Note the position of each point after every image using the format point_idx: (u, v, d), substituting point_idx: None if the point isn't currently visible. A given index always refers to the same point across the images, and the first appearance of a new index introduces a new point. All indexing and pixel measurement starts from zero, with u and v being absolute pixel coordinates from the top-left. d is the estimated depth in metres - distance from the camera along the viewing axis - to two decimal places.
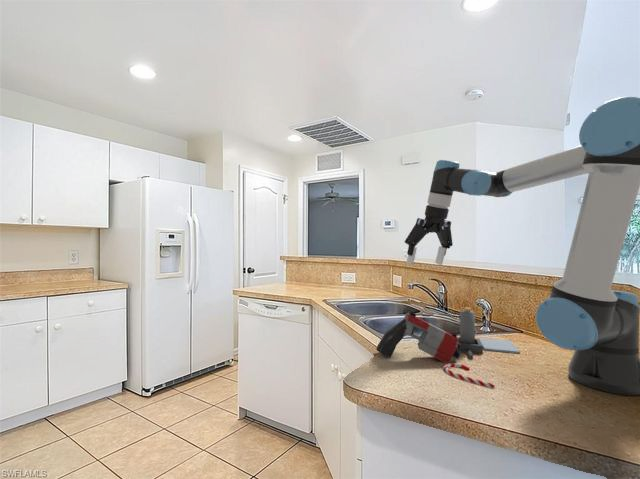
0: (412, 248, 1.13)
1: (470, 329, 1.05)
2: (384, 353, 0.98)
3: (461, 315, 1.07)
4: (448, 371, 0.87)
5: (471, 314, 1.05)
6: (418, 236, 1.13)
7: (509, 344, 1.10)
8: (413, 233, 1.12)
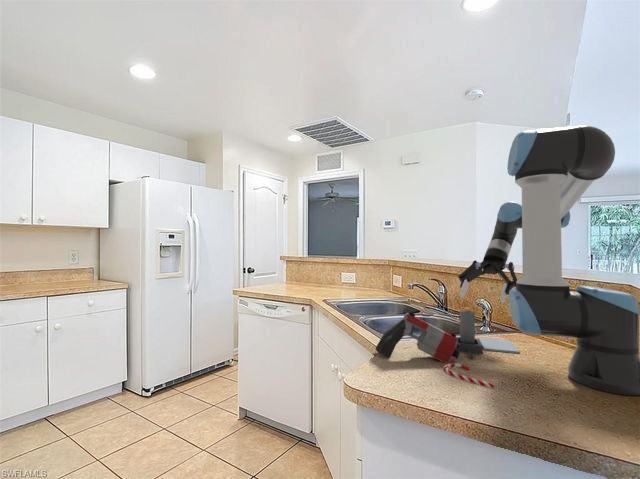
0: (463, 281, 1.23)
1: (470, 329, 1.05)
2: (383, 353, 0.98)
3: (461, 315, 1.07)
4: (448, 371, 0.87)
5: (471, 314, 1.05)
6: None
7: (509, 344, 1.10)
8: None
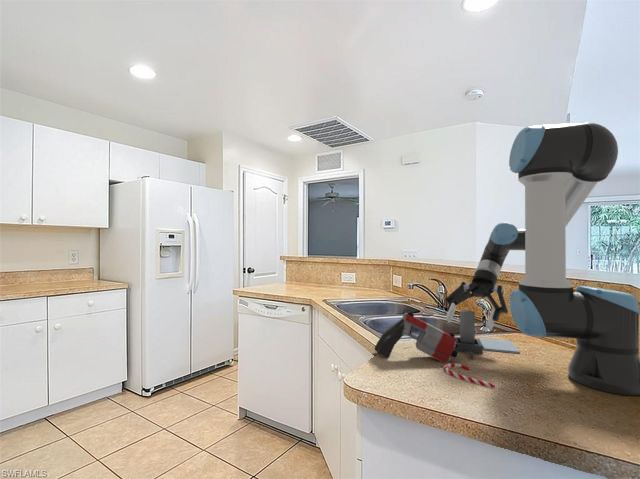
0: (450, 304, 1.17)
1: (470, 329, 1.05)
2: (382, 353, 0.98)
3: (461, 315, 1.07)
4: (448, 371, 0.87)
5: (471, 314, 1.05)
6: None
7: (509, 344, 1.10)
8: None
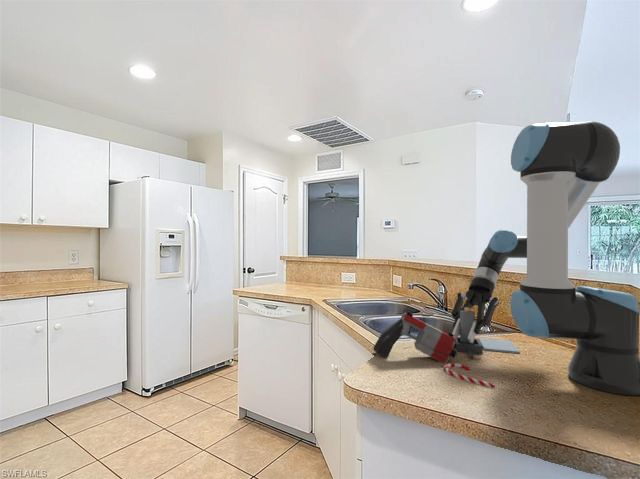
0: (456, 320, 1.10)
1: (470, 329, 1.05)
2: (381, 353, 0.98)
3: (461, 315, 1.07)
4: (448, 371, 0.87)
5: (471, 314, 1.05)
6: None
7: (509, 344, 1.10)
8: None
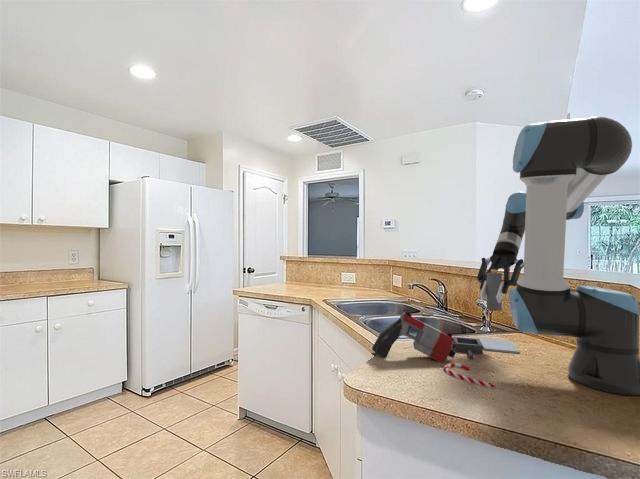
0: (483, 282, 1.12)
1: (497, 289, 1.07)
2: (380, 353, 0.98)
3: (488, 276, 1.09)
4: (448, 371, 0.87)
5: (498, 275, 1.07)
6: None
7: (509, 344, 1.10)
8: None
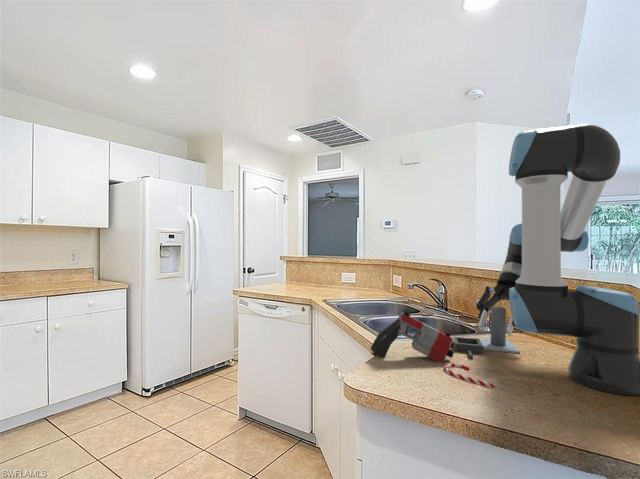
0: (481, 311, 1.14)
1: (501, 325, 1.08)
2: (378, 353, 0.98)
3: (492, 311, 1.09)
4: (448, 371, 0.87)
5: (502, 310, 1.08)
6: None
7: (509, 344, 1.10)
8: None
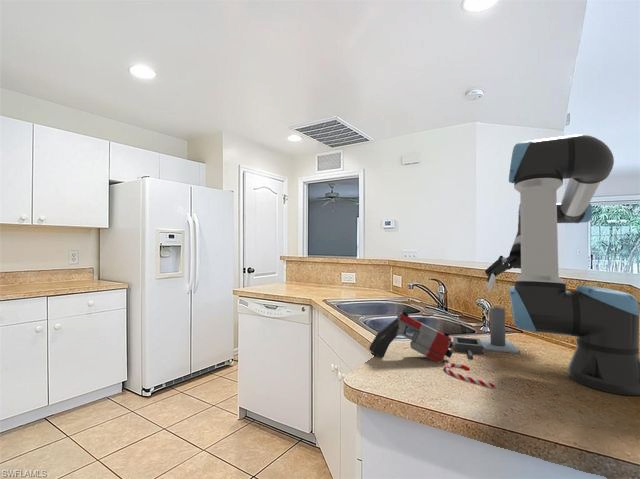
0: (490, 275, 1.26)
1: (500, 325, 1.08)
2: (377, 353, 0.98)
3: (491, 312, 1.09)
4: (448, 371, 0.87)
5: (502, 310, 1.08)
6: None
7: (509, 344, 1.10)
8: None
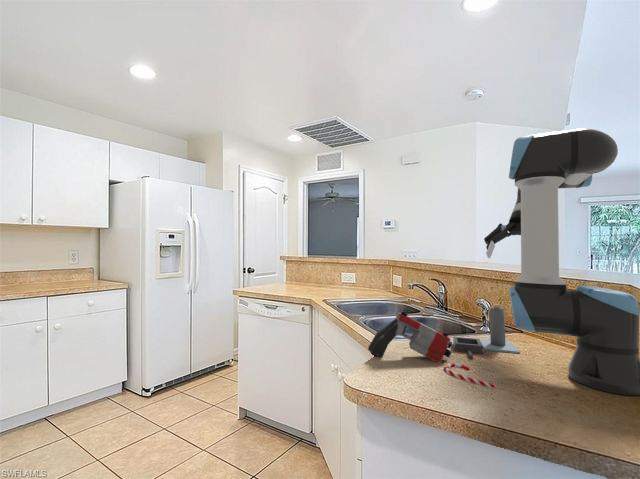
0: (489, 243, 1.25)
1: (500, 325, 1.08)
2: (376, 353, 0.99)
3: (491, 312, 1.09)
4: (448, 371, 0.87)
5: (501, 310, 1.08)
6: None
7: (509, 344, 1.10)
8: None
